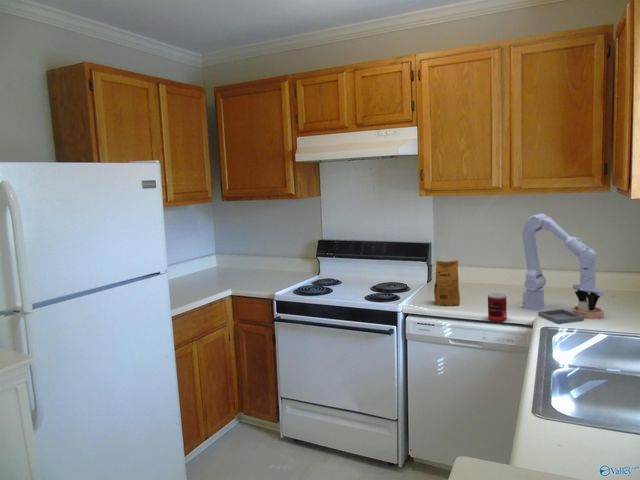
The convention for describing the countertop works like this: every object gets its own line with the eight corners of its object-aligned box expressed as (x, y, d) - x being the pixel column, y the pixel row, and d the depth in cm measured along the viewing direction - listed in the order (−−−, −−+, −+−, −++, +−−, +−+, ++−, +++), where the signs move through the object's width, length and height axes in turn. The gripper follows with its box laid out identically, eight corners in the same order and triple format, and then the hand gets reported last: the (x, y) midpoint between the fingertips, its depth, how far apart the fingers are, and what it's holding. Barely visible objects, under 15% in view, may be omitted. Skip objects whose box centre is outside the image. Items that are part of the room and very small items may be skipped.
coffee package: (434, 301, 248) (433, 259, 246) (459, 301, 245) (458, 258, 243) (434, 306, 239) (432, 262, 236) (460, 306, 236) (459, 262, 233)
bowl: (566, 314, 212) (566, 307, 212) (589, 311, 215) (589, 304, 214) (585, 321, 201) (585, 314, 201) (609, 318, 203) (609, 311, 203)
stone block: (578, 311, 209) (578, 301, 208) (587, 310, 210) (587, 300, 209) (585, 314, 205) (585, 303, 204) (595, 312, 206) (595, 302, 206)
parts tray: (538, 317, 211) (538, 311, 211) (562, 314, 213) (562, 308, 213) (558, 325, 198) (558, 319, 198) (584, 322, 200) (584, 316, 200)
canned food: (502, 316, 215) (501, 292, 214) (509, 321, 207) (509, 296, 206) (485, 317, 215) (484, 293, 214) (492, 322, 207) (491, 297, 206)
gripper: (567, 275, 212) (567, 305, 213) (593, 281, 198) (593, 313, 199) (580, 273, 214) (580, 303, 215) (607, 279, 200) (607, 311, 201)
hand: (587, 308), depth 207 cm, fingers closed on stone block, 4 cm apart
